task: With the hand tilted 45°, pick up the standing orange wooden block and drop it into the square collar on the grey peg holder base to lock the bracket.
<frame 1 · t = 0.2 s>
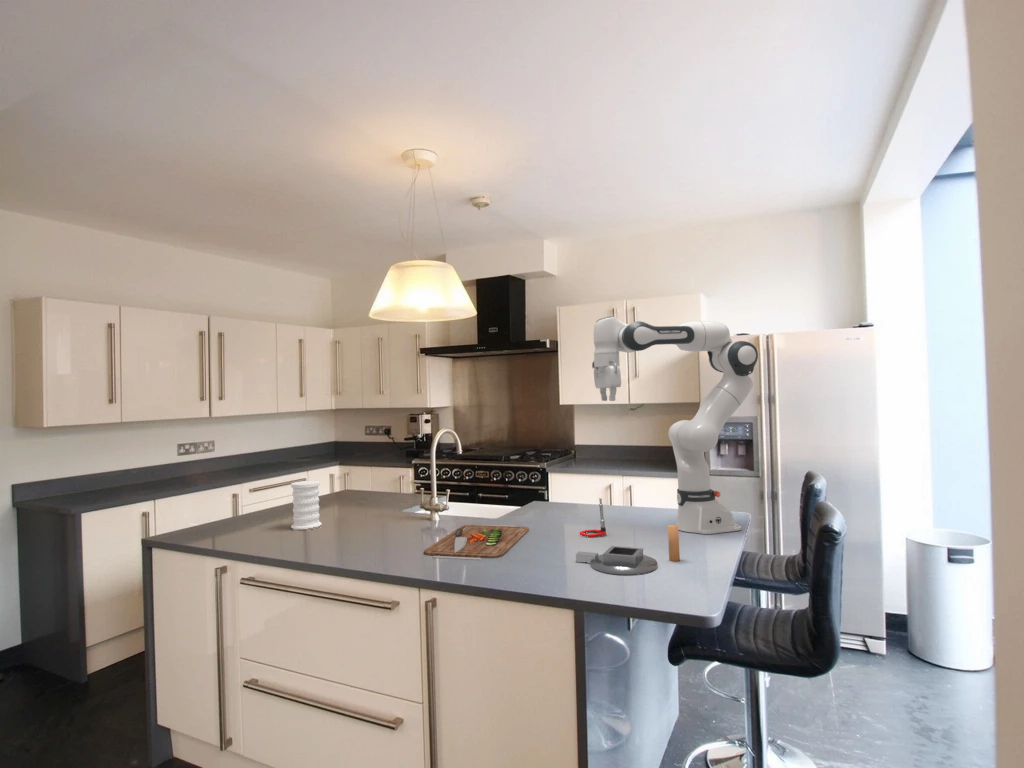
hand: (608, 400, 207), 47 cm above the countertop, tool pointing down, fingers open, 8 cm apart
tow hook: (592, 535, 205), on the countertop
orange wooden block: (674, 559, 171), on the countertop
chopping board: (480, 543, 201), on the countertop
decorative container: (306, 528, 232), on the countertop
grey peg holder base: (623, 565, 168), on the countertop
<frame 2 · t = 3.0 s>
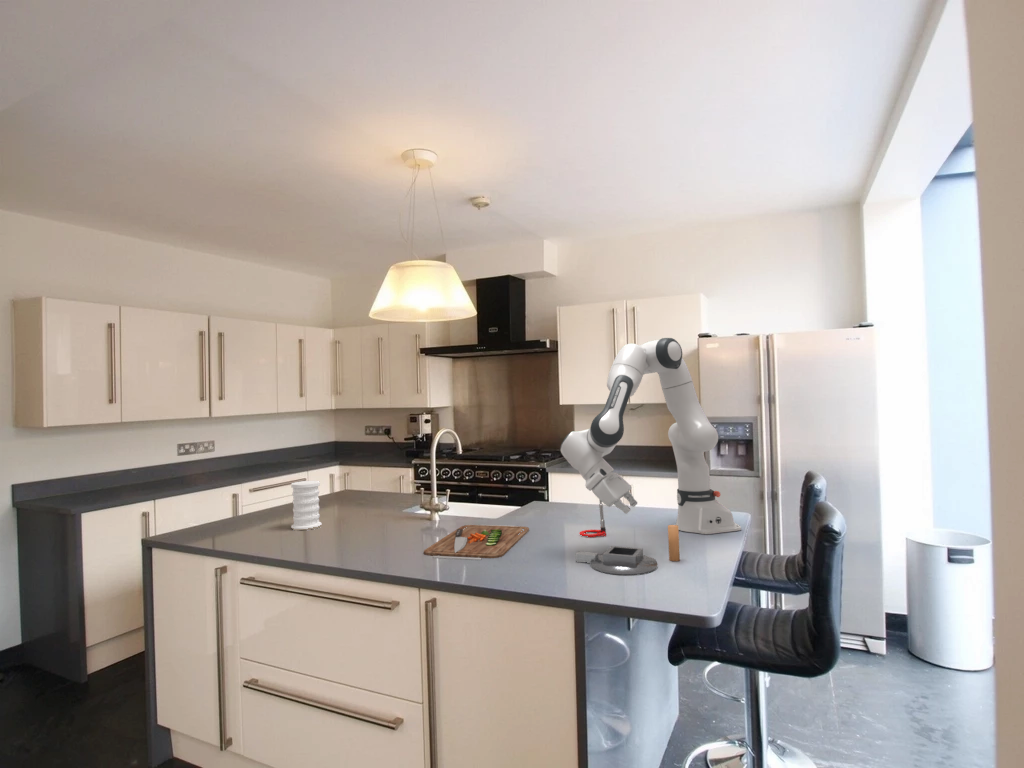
hand: (632, 508, 177), 14 cm above the countertop, tool tilted 45°, fingers open, 8 cm apart
nothing on the countertop moved.
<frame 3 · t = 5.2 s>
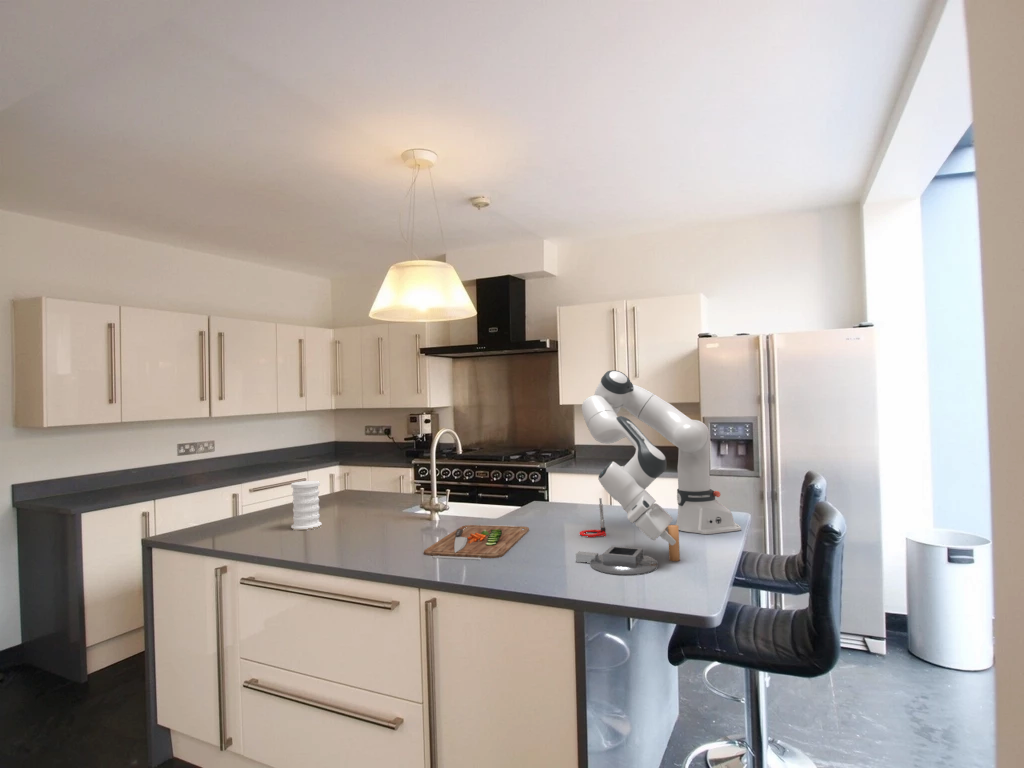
hand: (676, 541, 171), 5 cm above the countertop, tool tilted 45°, fingers closed on orange wooden block, 3 cm apart
orange wooden block: (674, 559, 171), on the countertop, touching gripper
everything else where it was.
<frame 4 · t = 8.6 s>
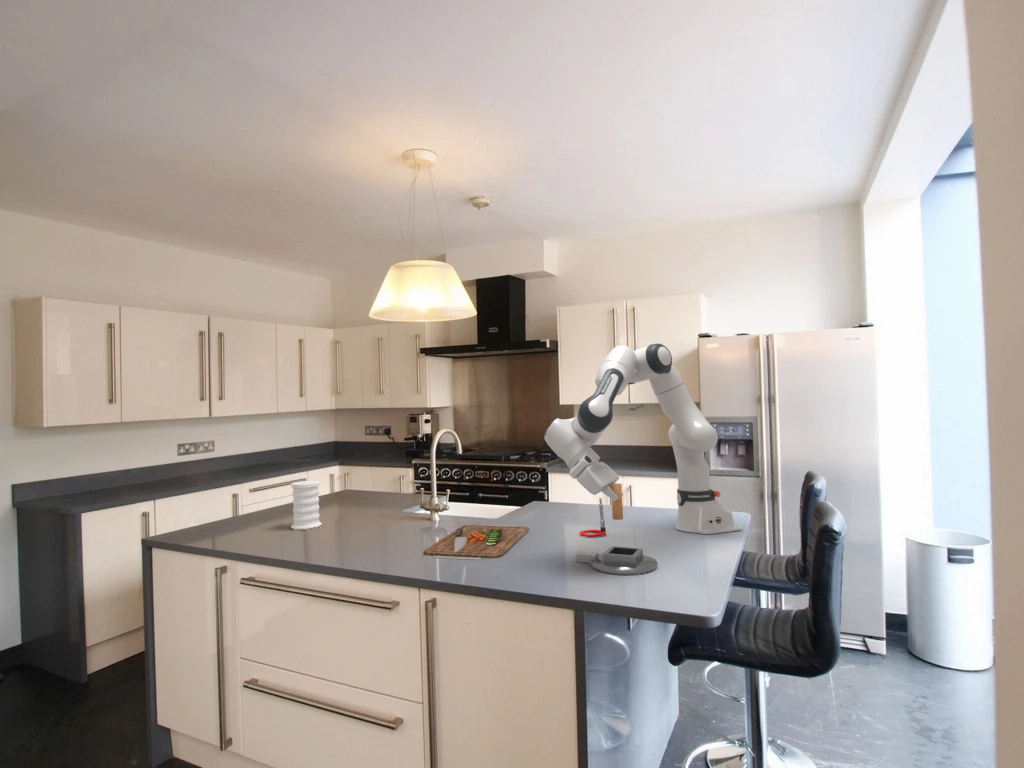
hand: (619, 498, 168), 19 cm above the countertop, tool tilted 45°, fingers closed on orange wooden block, 3 cm apart
orange wooden block: (617, 518, 168), point 13 cm above the countertop, touching gripper
everything else where it was.
when the fingers open (9 cm above the countertop, at t = 12.0 s): orange wooden block drops 2 cm, resting on grey peg holder base.
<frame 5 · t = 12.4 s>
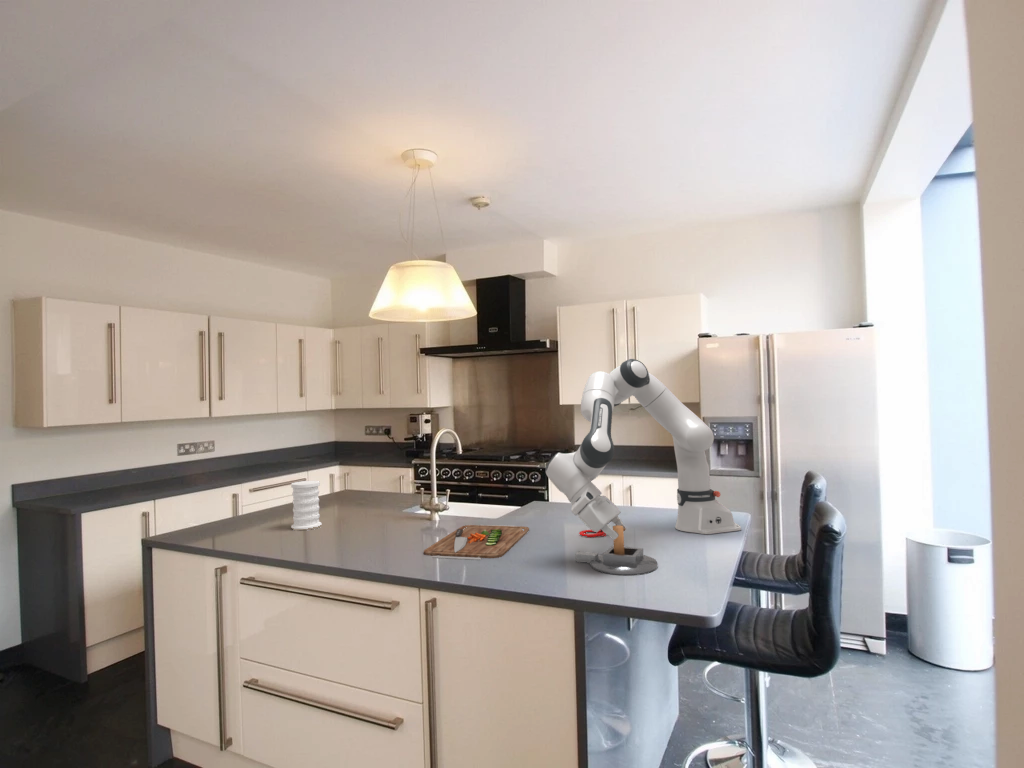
hand: (620, 534, 168), 9 cm above the countertop, tool tilted 45°, fingers open, 7 cm apart
orange wooden block: (619, 561, 168), point 1 cm above the countertop, touching grey peg holder base
everything else where it was.
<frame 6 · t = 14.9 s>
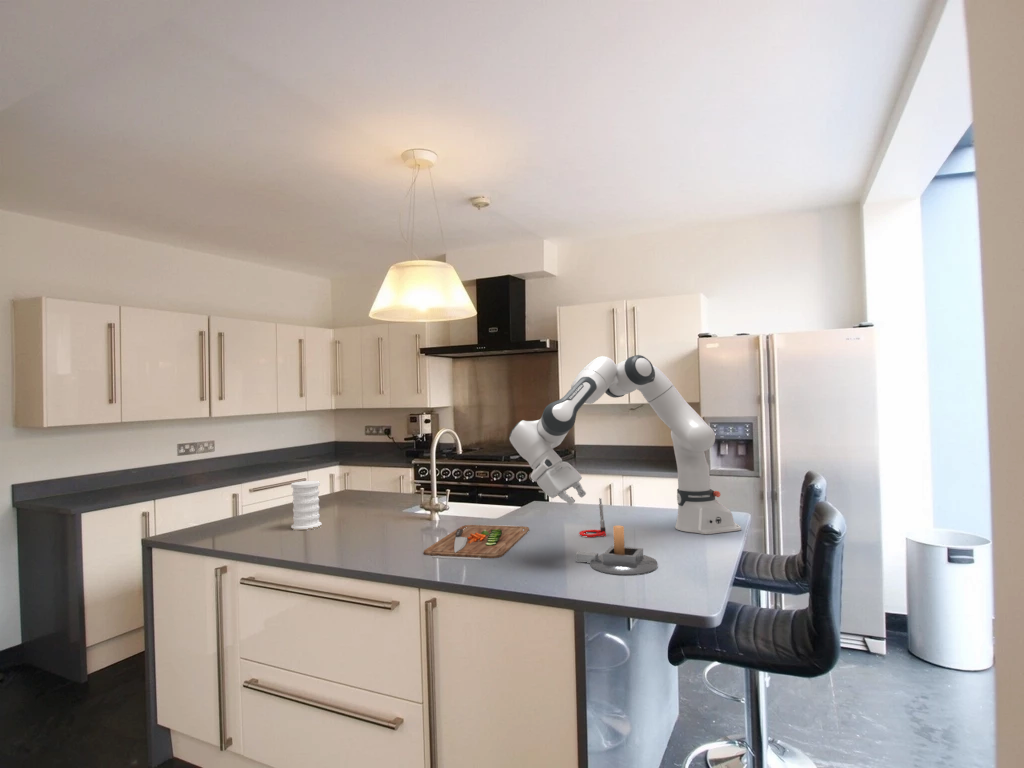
hand: (578, 499, 175), 18 cm above the countertop, tool tilted 45°, fingers open, 8 cm apart
nothing on the countertop moved.
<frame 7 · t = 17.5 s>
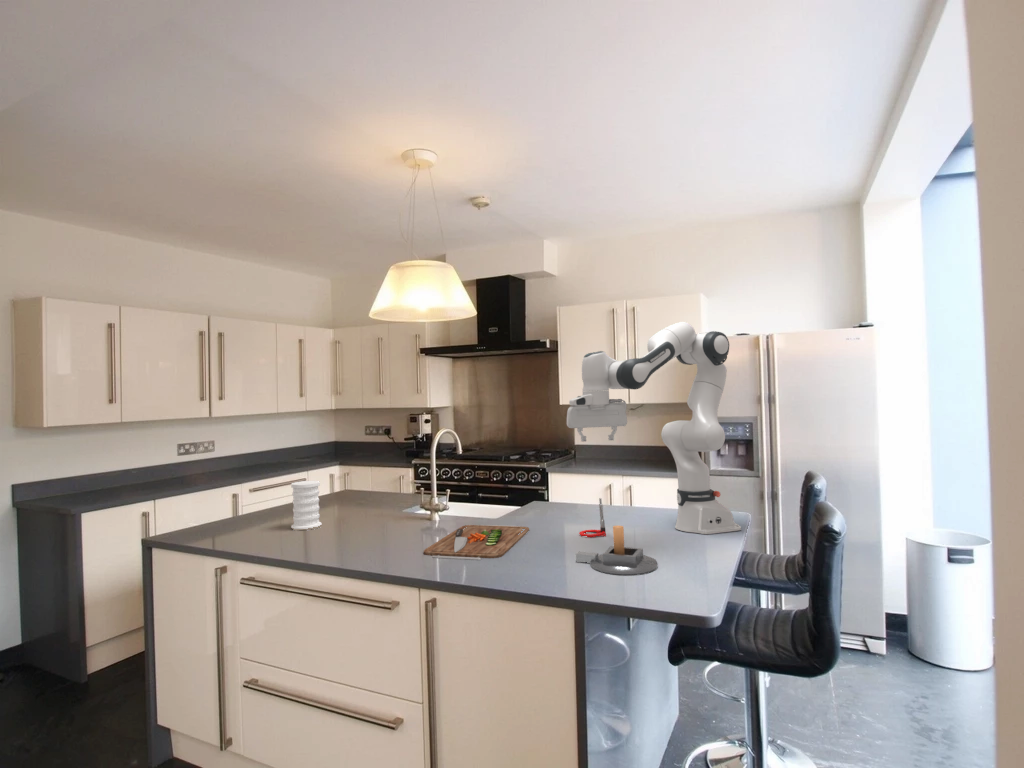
hand: (597, 440, 194), 34 cm above the countertop, tool pointing down, fingers open, 8 cm apart
nothing on the countertop moved.
at the end: orange wooden block inside the target area on the grey peg holder base (1.2 cm from its centre), point 1.0 cm above the grey peg holder base's base; orange wooden block tilted 0°; the gripper is holding nothing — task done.
